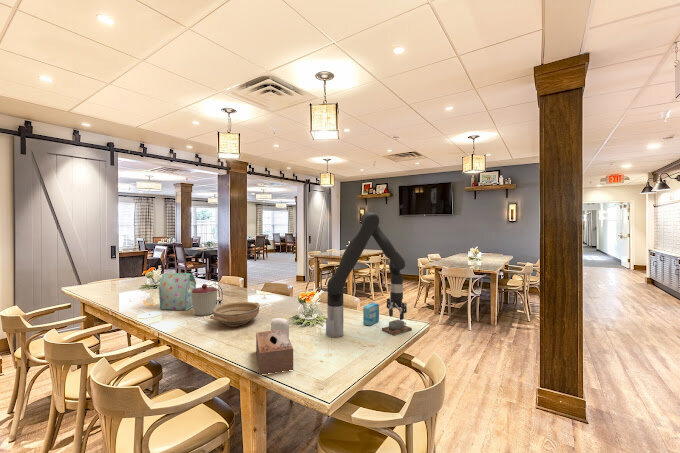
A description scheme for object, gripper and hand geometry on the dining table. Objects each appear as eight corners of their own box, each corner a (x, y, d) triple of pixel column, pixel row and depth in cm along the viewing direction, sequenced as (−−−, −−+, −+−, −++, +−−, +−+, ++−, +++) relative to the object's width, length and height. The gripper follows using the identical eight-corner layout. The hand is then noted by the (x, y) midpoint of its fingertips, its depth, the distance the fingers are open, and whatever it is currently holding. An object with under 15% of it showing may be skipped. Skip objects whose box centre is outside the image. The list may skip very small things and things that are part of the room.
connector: (401, 324, 192) (401, 318, 192) (407, 326, 188) (407, 320, 188) (387, 328, 185) (387, 322, 185) (392, 331, 181) (392, 324, 181)
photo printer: (290, 340, 171) (290, 318, 171) (286, 343, 167) (286, 320, 167) (273, 338, 174) (273, 316, 174) (269, 341, 170) (269, 318, 170)
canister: (212, 317, 212) (211, 286, 212) (185, 317, 212) (185, 286, 212) (222, 310, 230) (222, 281, 230) (198, 310, 230) (197, 281, 230)
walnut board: (393, 335, 178) (393, 332, 178) (381, 330, 186) (381, 327, 186) (411, 330, 187) (411, 327, 187) (399, 325, 195) (399, 323, 195)
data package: (369, 326, 194) (369, 307, 193) (363, 325, 196) (363, 306, 196) (379, 321, 203) (379, 303, 203) (373, 320, 206) (373, 302, 206)
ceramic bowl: (228, 336, 177) (228, 318, 177) (196, 327, 192) (196, 311, 191) (273, 318, 210) (273, 303, 209) (242, 312, 224) (242, 298, 224)
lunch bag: (198, 305, 243) (198, 271, 242) (186, 311, 226) (185, 274, 226) (170, 304, 245) (170, 270, 245) (156, 310, 229) (156, 274, 228)
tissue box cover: (293, 371, 136) (293, 348, 136) (259, 376, 132) (259, 352, 132) (285, 348, 161) (285, 329, 161) (256, 352, 157) (256, 332, 156)
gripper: (410, 292, 183) (409, 320, 183) (392, 288, 194) (392, 313, 194) (401, 294, 178) (400, 322, 178) (383, 289, 190) (383, 315, 190)
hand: (396, 317), depth 186 cm, fingers open, 8 cm apart
